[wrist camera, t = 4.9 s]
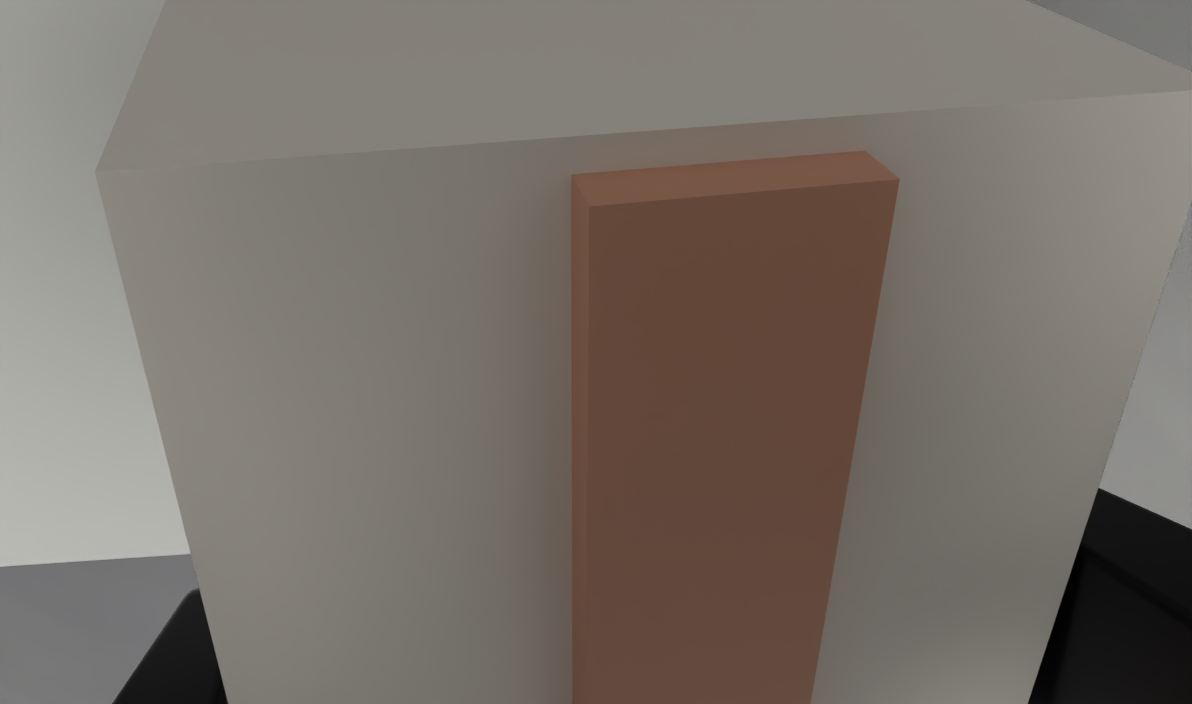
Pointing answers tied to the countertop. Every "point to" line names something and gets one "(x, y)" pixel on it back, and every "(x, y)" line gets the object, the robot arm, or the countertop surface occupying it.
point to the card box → (640, 337)
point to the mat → (71, 299)
